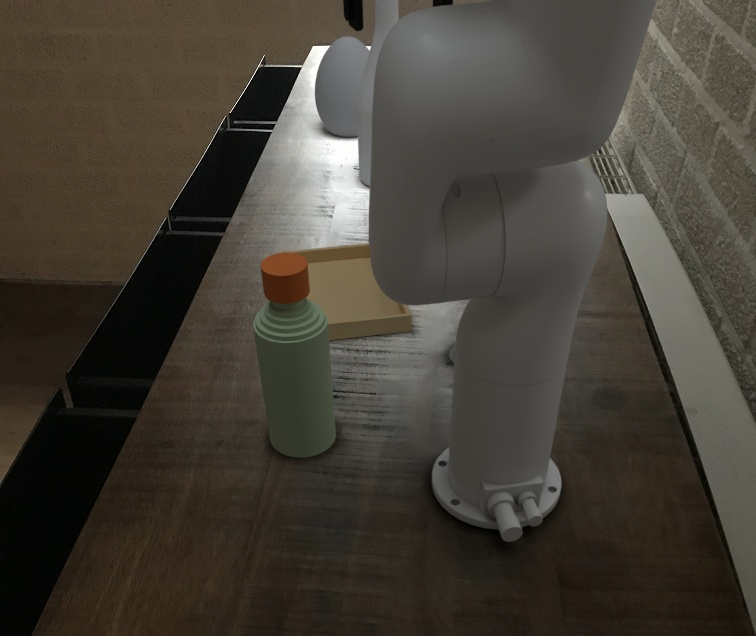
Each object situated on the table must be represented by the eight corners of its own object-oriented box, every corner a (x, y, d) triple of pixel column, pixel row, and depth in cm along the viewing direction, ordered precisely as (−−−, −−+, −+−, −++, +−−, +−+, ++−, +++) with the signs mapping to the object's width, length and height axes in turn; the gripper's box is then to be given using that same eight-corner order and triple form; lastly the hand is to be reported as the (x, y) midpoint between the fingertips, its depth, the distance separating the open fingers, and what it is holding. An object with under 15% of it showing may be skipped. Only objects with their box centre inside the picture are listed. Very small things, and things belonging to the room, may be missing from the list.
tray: (411, 331, 98) (411, 315, 96) (296, 343, 97) (294, 327, 95) (385, 256, 112) (384, 241, 110) (284, 266, 110) (282, 251, 108)
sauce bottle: (340, 453, 82) (328, 283, 69) (272, 461, 82) (246, 291, 68) (331, 411, 87) (319, 245, 73) (268, 419, 87) (243, 252, 73)
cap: (312, 301, 71) (309, 272, 69) (265, 306, 71) (261, 277, 69) (307, 278, 74) (305, 250, 72) (262, 282, 74) (259, 254, 72)
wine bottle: (427, 185, 128) (432, -37, 107) (371, 195, 125) (366, -29, 104) (403, 163, 134) (404, -50, 113) (351, 173, 132) (341, -43, 111)
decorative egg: (391, 119, 149) (390, 28, 138) (374, 144, 140) (372, 49, 130) (328, 114, 151) (323, 25, 140) (308, 138, 142) (301, 45, 132)
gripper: (318, -181, 69) (331, 41, 81) (501, -191, 72) (487, 22, 84) (296, -187, 74) (311, 23, 86) (468, -196, 78) (459, 6, 90)
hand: (398, 22), depth 85 cm, fingers open, 9 cm apart
